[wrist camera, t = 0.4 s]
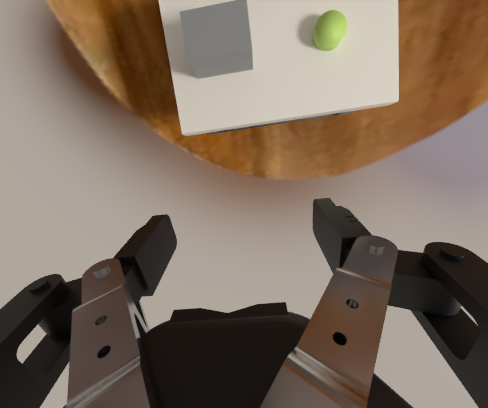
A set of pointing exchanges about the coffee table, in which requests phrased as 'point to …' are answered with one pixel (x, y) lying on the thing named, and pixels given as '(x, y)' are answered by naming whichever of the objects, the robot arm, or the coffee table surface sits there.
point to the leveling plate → (278, 59)
